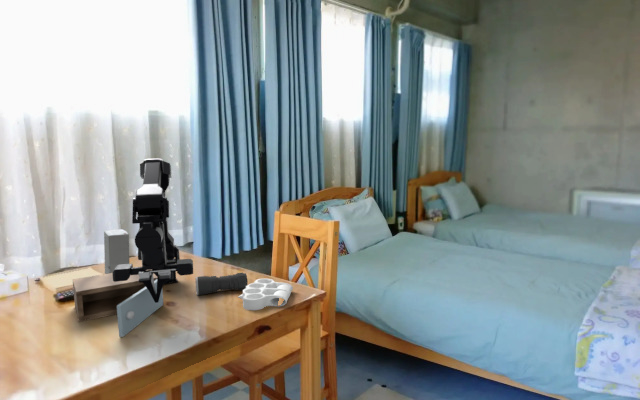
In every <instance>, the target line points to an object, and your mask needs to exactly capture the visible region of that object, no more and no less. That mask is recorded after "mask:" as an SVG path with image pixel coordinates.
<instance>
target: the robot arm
mask: <svg viewBox="0 0 640 400" xmlns="http://www.w3.org/2000/svg"><path fill="white" fill-rule="evenodd" d="M139 177H140V178H141V180H142V179H143V180H142V186H141V187H140V188H138V189H137V190H136V193H135V197H133V199H132V216H131V217H132V218H131V219H132V221H131V223H132V224H135V225H136V224H139V225H138V226H139V229H138V231H137V233H136V235H135V237H134V244H135V247H136V248H137V259H138V260H139V261H141V266H133V263H129V264H120V265H117V266H116V267H115V269H114V271H113V281H114V282H117V281H127V280H128V279H129V278H130V275H139V282H140V283H141V282H142V283H144V285H145V286H146V288H147V289H148V290H149V292H150V294H151V296H152V298H153V300H154V302H155V303H158V302H159V298H160V294H161V290H163V288H164V285H167V284H168V285H169V284H173V283H178V281H179V280H178V279H177V275H179V276H180V277H181V276H188V275H189V276H191V275H193V274H194V260H193V259H192V258H183V259H182V258H180V250H179V248H178V246H177V244H176V245H175V238H174V237H173V236H172V234H171V233H170V232H169V224H168V222H169V221H168V218H170V202H169V200H168V197H167V196H166V192H167V189H168V187H169V186H170V179H172V165H171V163H170V162H167V161H164V160H163V159H162V158H159V157H158V158H146V159H143V162H141V163H139ZM153 273H154V274H155V275H156V276H157V277H158V278H157V293H156V290H155V284H154V278H153Z"/></svg>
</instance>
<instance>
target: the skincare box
mask: <svg viewBox="0 0 640 400" xmlns="http://www.w3.org/2000/svg"><path fill="white" fill-rule="evenodd" d="M103 236H104V237H103V240H104V243H103V245H104V250H103V251H104V274H109V273H113V271H114V269H115V267H116V266H117V265H120V264H130V234H129V233H128V231H127V230H124V229H122V228H121V229H108V230H107V229H106V230H103Z"/></svg>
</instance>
